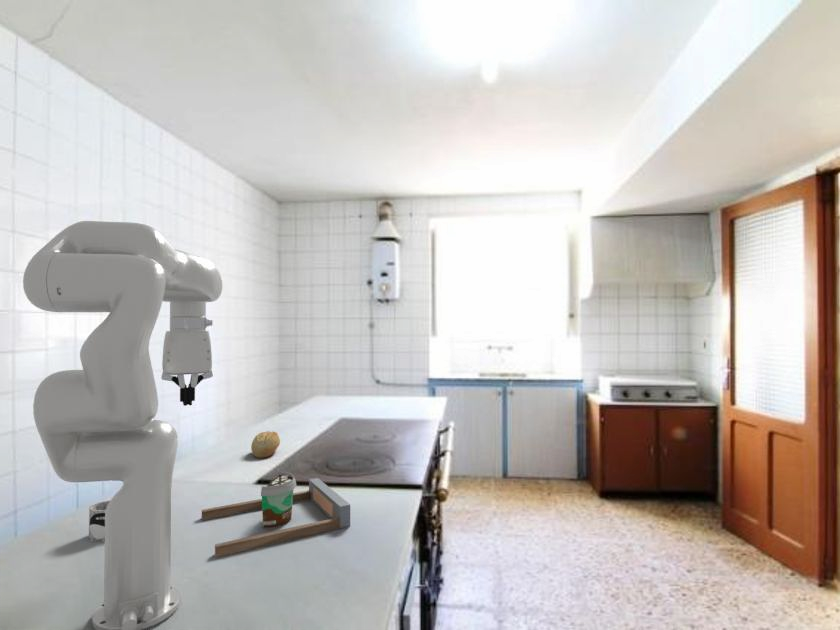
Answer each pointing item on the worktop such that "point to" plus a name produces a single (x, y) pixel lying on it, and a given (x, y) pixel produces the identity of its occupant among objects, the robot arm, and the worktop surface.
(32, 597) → the worktop surface
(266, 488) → the food container
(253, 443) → the bread roll
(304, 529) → the guide track
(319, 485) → the end stop
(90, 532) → the mug
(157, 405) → the robot arm
